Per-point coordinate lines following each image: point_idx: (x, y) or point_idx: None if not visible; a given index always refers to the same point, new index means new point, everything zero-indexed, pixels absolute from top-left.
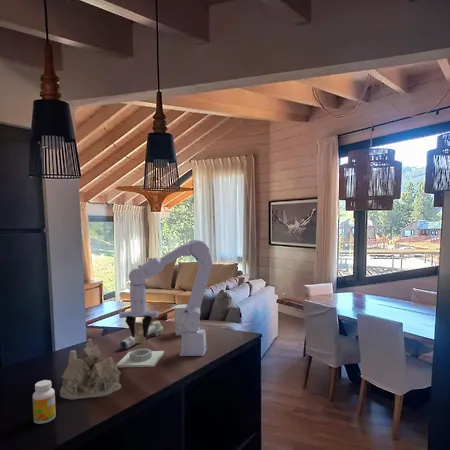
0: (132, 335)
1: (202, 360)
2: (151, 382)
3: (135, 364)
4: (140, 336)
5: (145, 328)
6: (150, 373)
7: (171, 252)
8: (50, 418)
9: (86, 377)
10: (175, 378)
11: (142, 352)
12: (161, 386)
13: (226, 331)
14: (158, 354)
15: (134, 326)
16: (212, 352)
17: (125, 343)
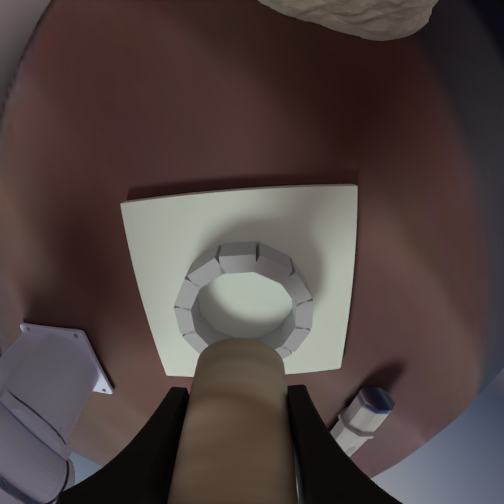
0: (303, 395)
1: (6, 284)
2: (82, 35)
3: (233, 197)
4: (210, 384)
5: (140, 447)
6: (111, 116)
7: None
8: None
9: None
10: (15, 103)
11: None
12: (45, 27)
13: (95, 459)
14: (168, 340)
15: (280, 479)
16: None
17: (370, 406)
